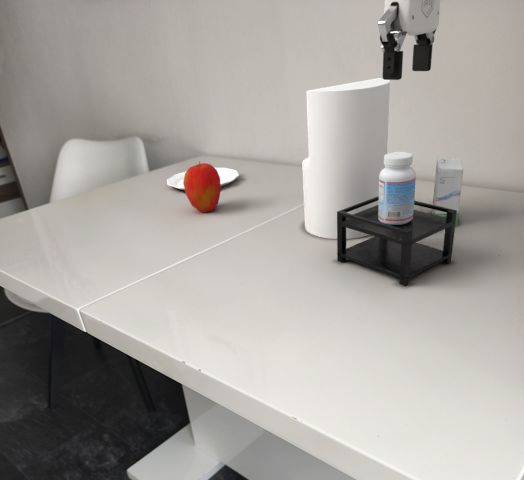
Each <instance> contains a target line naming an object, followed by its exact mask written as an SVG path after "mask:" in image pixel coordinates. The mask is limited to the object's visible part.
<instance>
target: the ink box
mask: <svg viewBox="0 0 524 480" xmlns="http://www.w3.org/2000/svg"><path fill="white" fill-rule="evenodd" d="M435 165H436V166H435V176H434V187H433V197H432V205H436V206H440V207H445V208H449V209H453V210H457V214H456V223H455V226H457V225H458V221H459V214H460V213H459V211H460V202H461V196H462V195H461V194H462V185H463V177H464V167H463V164H462V161H461V158H437V159H436V164H435ZM431 214H434V215H438V216H442V217H446V216H447V213H446V212H442V211H438V210H434V209H431Z"/></svg>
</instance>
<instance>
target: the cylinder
mask: <svg viewBox="0 0 524 480" xmlns="http://www.w3.org/2000/svg"><path fill="white" fill-rule="evenodd" d="M390 88H391V80H384V79H383V77H375V78H371V79H366V80H359V81H354V82H347V83H343V84H337V85H330V86H324V87H319V88H314V89H309V90H305V92H306V93H305V95H306V96H305V97H306V121H307V122H306V123H307V146H308V149H307V151H308V156H307V157H305V158H304V159H303V160H302V162H301V168H302V189H303V190H302V191H303V192H302V193H303V194H302V195H303V211H304V212H303V214H304V217H303V218H304V229H305V230H306V232H308V233H309V234H310V235H312V236H316V237H318V238H324V239H329V240H330V239H331V240H332V239H333V240H337V211H340V210H343V209H345V208H348V207H351V206H353V205H356V204H359V203H361V202H364V201H367V200H369V199H372V198H375V197H377V196H379V175H380V172H381V171H382V170H383V169H384V168H385V165H384V156H385V155H386V154H388V140H389V118H390V117H389V115H390V114H389V113H390V91H391V90H390ZM376 205H379V200H378V201H375V202H373V203H370V204H367V205H365V206H362V207H360V208H357V209H354V210H352V211H349V212H346V213H349V214H352V215H353V214H356V213H358V212H361V211H363V210H366V209H369V208H371V207H374V206H376ZM368 236H370V235H369V234H366V233H362V232H359V231H356V230H353V229H349V228H346V240H350V239H351V240H353V239H358V238H363V237H368Z"/></svg>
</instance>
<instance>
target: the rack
mask: <svg viewBox="0 0 524 480" xmlns="http://www.w3.org/2000/svg"><path fill="white" fill-rule="evenodd" d="M378 200H379V196H377V197H375V198H372V199H369V200H367V201H364V202H361V203H359V204H356V205H353V206H351V207H348V208H345V209H343V210H340V211H337V239H336V243H337V244H336V247H337V248H336V249H337V251H336V255H337V257H336V258H337V262H339V263H345V262H347V260H349V261H352V262H355V263H357V264H360V265H362V266H366V267H369V268H371V269H374V270H377V271H379V272H383V273H385V274H388V275H390V276H393V277H397V278H399V283H398V284H399V285H400V286H403V287H406V286H408V285H410V278H411V277H413V276H416V275H417V274H419V273H421V272H423V271H425V270H427V269H429V268H431V267H433V266H435V265H437V264H439V263H441V264H445V265H449V264H450V263H452V259H453V248H454V240H455V232H456V225H455V223H456V214H457V210H453V209H449V208H445V207H440V206H436V205H433V203H432V204H431V203H427V202H423V201H419V200H418V201H417V200H415V199H414V206H417V207H421V208H426V209H430V210H432V209H434V210H438V211H442V212H446V213H447V216H446V217H442V216H438V215H434V214H432V213H429V212H425V211H422V210H417V209H414V213H413V219H412V220H411V221H410V222H408V223H406V224H402V225H388V224H384V223H382V222H380V221H379V219H378V209H379V205H376V206H374V207H371V208H369V209H366V210H363V211H361V212H358V213H356V214H353V215H352V214H349V213H346V212H349V211H352V210H354V209H357V208H360V207H362V206H365V205H367V204H370V203H373V202H375V201H378ZM346 228H349V229H353V230H356V231H359V232H362V233H366V234H369V235H368V236H373V237H370V238H368V239H365V240H362V241H361V242H358V243H356V244H354V245H351V246H349V247H347V239H346ZM441 231H444V237H443V245H442V246H443V247H442V249H439V248H436V247H433V246H429V245H426V244H422V243H419V242H420V241H422V240H424V239H426V238H428V237H431V236H433V235H435V234H438V233H440V232H441Z"/></svg>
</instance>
